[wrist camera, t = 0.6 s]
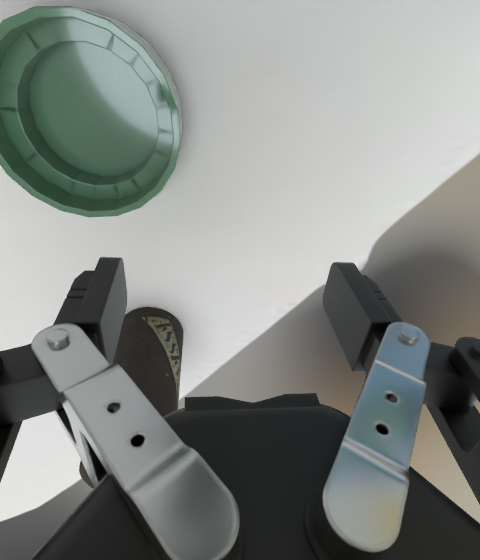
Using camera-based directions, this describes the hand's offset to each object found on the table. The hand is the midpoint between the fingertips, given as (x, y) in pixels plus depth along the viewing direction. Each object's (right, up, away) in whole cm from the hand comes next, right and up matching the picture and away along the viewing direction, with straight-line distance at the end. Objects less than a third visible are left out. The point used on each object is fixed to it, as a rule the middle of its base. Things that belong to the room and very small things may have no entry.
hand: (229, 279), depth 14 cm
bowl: (-13, +15, +19) cm, 28 cm away
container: (-12, -7, +35) cm, 37 cm away
